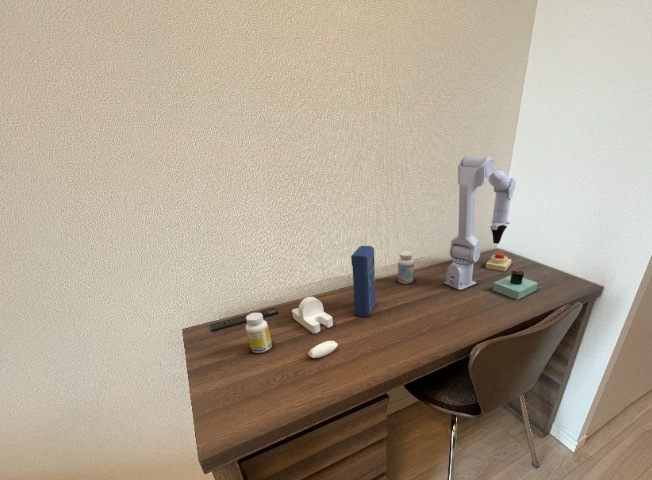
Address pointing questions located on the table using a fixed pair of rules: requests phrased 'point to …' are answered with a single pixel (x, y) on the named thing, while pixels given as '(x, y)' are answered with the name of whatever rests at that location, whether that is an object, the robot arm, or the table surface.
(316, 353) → the white spindle
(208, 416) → the table surface
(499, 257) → the button
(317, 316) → the slotted bracket
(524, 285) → the dial panel
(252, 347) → the supplement bottle
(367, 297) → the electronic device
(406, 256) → the pill bottle
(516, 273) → the dial
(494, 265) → the control block
